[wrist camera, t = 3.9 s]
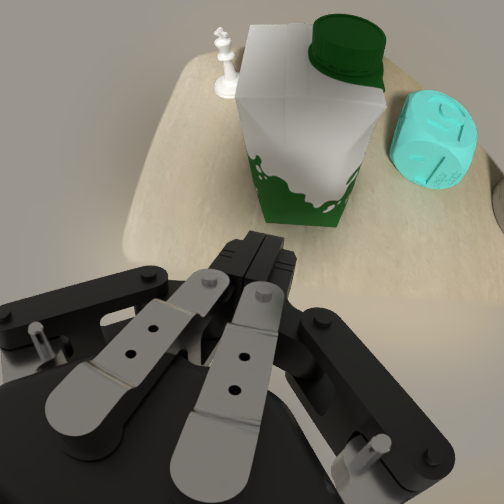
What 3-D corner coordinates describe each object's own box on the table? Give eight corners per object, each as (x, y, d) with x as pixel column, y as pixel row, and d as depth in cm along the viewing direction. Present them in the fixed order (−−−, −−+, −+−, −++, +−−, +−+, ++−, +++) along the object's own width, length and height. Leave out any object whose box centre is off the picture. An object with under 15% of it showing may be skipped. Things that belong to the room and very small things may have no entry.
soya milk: (345, 237, 30) (410, 88, 11) (254, 230, 31) (209, 75, 12) (344, 162, 33) (378, 3, 14) (262, 157, 34) (236, -4, 15)
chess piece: (237, 103, 37) (223, 42, 27) (207, 92, 38) (189, 35, 29) (258, 81, 38) (250, 22, 28) (229, 71, 39) (216, 16, 29)
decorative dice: (383, 171, 32) (404, 127, 24) (396, 123, 34) (413, 78, 26) (445, 199, 30) (477, 162, 23) (451, 148, 32) (477, 109, 24)
